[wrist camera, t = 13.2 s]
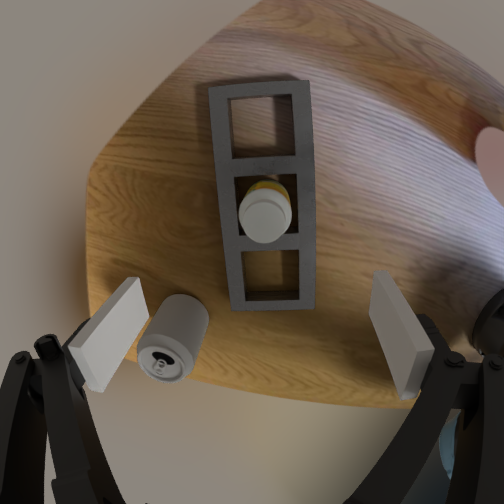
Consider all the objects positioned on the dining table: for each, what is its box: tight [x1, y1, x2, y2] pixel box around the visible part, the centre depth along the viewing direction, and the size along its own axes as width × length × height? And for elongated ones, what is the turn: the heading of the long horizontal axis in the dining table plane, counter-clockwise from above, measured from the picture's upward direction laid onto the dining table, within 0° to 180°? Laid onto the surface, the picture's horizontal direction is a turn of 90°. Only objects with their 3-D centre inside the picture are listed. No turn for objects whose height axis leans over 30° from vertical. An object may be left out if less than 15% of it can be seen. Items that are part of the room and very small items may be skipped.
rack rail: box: [208, 80, 316, 311], centre depth 36 cm, size 11×28×2 cm, turn 4°
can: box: [137, 294, 209, 383], centre depth 39 cm, size 8×8×12 cm
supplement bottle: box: [239, 179, 292, 243], centre depth 32 cm, size 5×5×10 cm
